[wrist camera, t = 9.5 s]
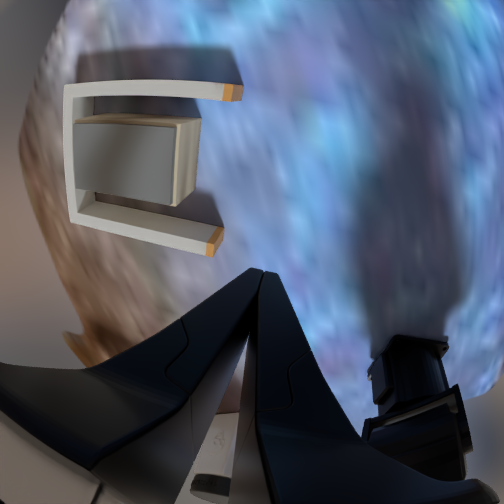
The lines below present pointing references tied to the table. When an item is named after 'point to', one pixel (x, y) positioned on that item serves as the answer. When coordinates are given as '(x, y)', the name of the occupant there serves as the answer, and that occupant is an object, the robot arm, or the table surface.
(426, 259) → the table surface
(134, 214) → the frame
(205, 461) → the jar
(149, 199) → the grey beige block
